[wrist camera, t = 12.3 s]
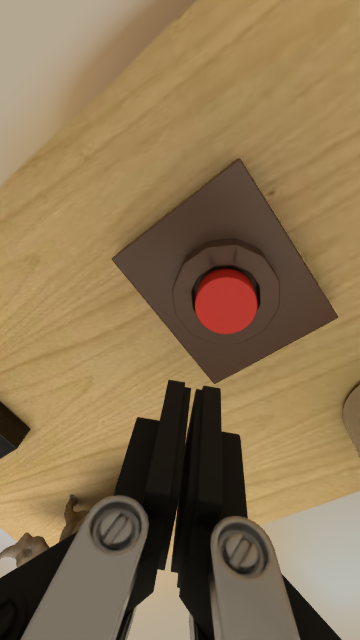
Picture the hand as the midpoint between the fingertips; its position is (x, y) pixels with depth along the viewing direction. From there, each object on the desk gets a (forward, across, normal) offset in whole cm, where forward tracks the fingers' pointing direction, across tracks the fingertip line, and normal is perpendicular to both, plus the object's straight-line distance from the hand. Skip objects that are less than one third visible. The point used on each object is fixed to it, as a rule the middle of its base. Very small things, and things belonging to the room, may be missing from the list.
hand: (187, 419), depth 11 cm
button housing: (+15, -2, 0) cm, 15 cm away
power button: (+11, -2, 0) cm, 11 cm away
